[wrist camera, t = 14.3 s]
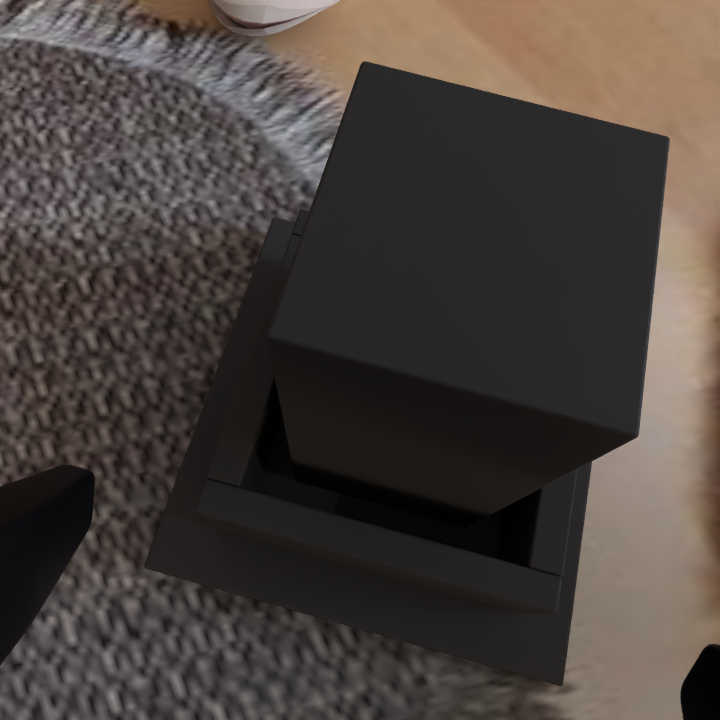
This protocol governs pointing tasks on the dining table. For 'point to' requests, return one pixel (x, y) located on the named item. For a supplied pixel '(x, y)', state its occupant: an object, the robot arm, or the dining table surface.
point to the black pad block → (467, 297)
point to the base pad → (360, 525)
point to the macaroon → (265, 14)
